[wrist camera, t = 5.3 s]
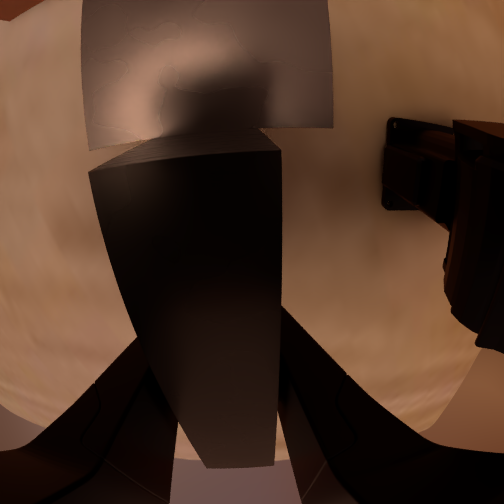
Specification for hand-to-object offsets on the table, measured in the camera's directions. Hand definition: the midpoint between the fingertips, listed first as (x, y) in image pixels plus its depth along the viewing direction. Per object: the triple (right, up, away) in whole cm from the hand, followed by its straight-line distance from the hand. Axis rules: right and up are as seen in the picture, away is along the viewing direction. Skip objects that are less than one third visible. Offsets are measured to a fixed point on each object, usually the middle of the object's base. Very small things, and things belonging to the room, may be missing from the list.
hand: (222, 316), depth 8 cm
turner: (0, +4, -1) cm, 4 cm away
